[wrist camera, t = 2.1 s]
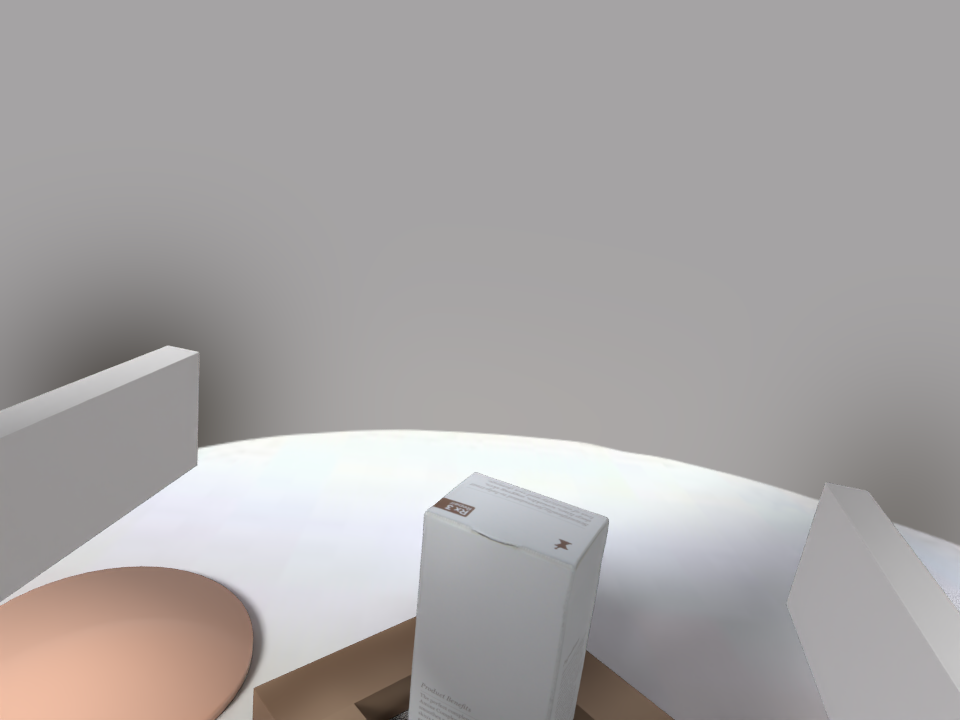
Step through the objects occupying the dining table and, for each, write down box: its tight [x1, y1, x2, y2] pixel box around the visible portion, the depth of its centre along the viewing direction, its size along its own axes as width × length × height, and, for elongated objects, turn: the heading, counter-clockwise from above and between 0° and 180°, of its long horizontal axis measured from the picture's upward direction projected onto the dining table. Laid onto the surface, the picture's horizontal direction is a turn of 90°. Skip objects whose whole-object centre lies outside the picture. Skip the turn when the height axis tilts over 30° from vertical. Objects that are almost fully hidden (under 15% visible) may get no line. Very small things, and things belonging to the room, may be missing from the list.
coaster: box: [0, 566, 253, 720], centre depth 31 cm, size 13×13×1 cm
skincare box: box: [408, 472, 609, 720], centre depth 27 cm, size 6×4×12 cm
